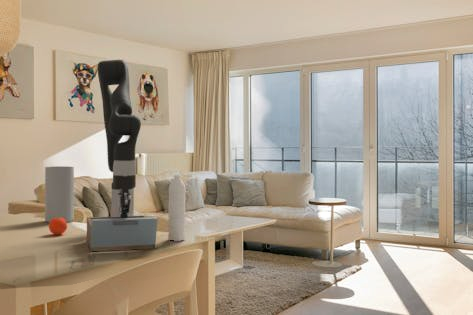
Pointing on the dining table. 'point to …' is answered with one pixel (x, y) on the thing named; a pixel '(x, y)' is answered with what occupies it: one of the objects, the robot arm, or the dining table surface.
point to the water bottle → (177, 209)
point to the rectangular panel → (123, 231)
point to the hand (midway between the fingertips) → (123, 224)
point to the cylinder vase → (59, 193)
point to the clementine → (57, 226)
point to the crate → (89, 227)
